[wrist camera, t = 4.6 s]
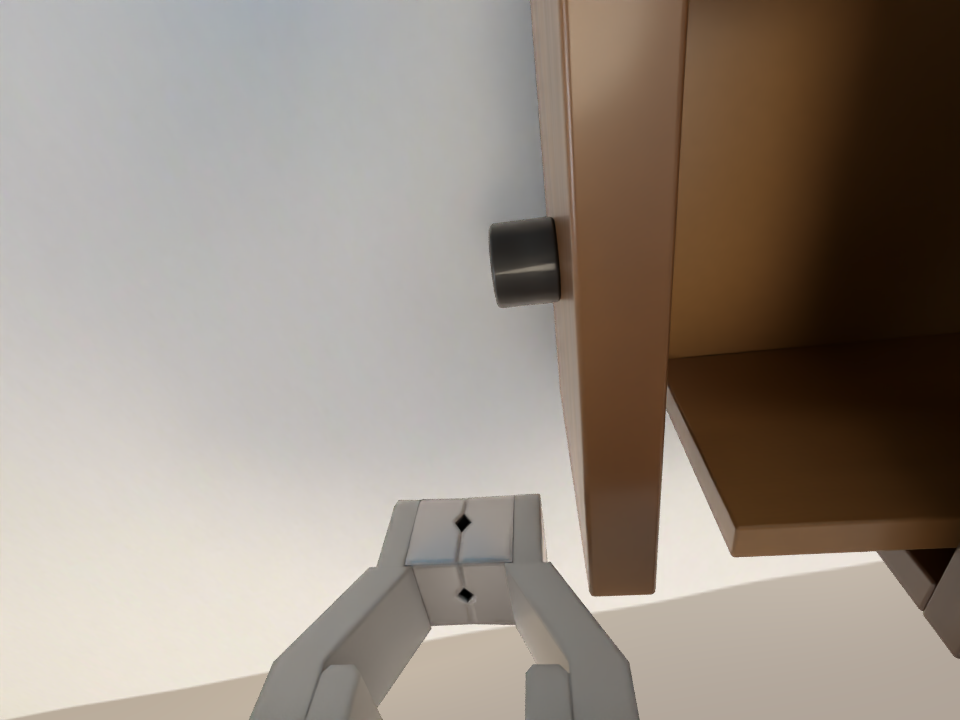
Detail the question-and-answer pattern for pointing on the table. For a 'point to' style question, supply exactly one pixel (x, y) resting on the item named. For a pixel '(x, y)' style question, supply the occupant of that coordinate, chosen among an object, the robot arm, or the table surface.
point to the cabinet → (932, 587)
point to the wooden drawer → (750, 268)
